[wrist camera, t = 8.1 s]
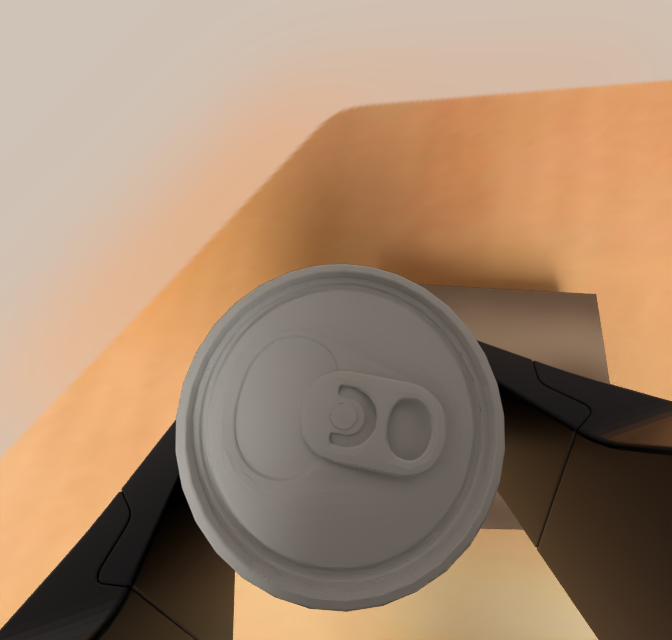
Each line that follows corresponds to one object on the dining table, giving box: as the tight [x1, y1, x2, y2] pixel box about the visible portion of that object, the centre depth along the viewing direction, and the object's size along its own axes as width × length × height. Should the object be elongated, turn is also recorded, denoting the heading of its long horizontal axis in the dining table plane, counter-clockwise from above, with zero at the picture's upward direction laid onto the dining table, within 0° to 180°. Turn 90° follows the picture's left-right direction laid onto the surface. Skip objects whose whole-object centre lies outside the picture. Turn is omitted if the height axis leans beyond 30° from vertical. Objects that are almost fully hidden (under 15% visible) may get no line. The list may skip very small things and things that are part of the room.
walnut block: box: [417, 284, 610, 530], centre depth 21 cm, size 14×14×3 cm
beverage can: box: [176, 264, 505, 611], centre depth 10 cm, size 6×6×12 cm
